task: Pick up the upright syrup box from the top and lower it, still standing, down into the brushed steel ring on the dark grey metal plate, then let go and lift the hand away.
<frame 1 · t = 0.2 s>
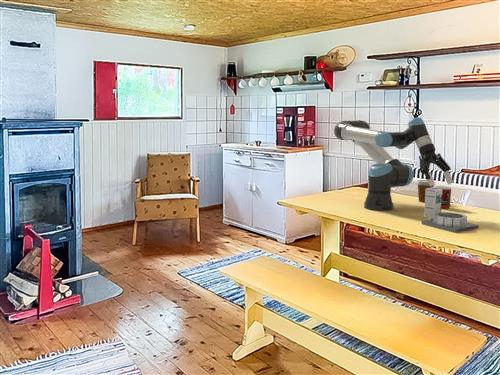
hand: (441, 184, 234), 16 cm above the table, tool tilted 30°, fingers open, 13 cm apart
syrup box: (432, 217, 234), on the table
canned food: (441, 207, 257), on the table
disposable coffee cup: (424, 201, 273), on the table
ring plate: (449, 226, 216), on the table
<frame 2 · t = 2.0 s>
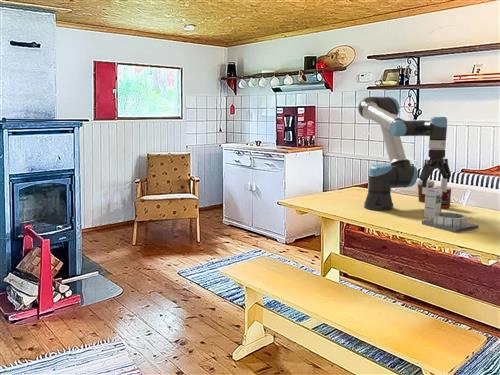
hand: (434, 192, 231), 12 cm above the table, tool pointing down, fingers open, 13 cm apart
nothing on the table moved.
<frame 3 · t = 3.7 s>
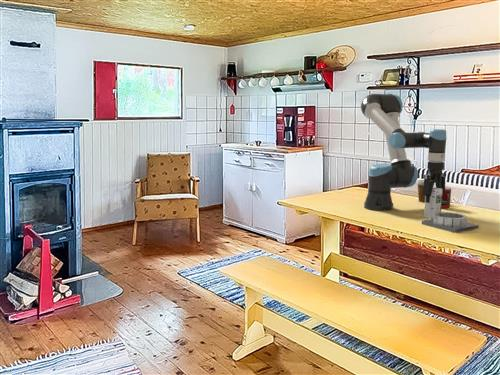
hand: (432, 208, 233), 4 cm above the table, tool pointing down, fingers closed on syrup box, 6 cm apart
syrup box: (432, 217, 234), on the table, touching gripper
everything else where it was.
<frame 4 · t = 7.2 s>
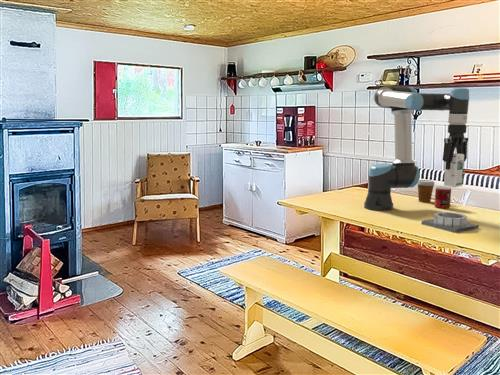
hand: (453, 176, 212), 23 cm above the table, tool pointing down, fingers closed on syrup box, 6 cm apart
syrup box: (452, 186, 213), point 18 cm above the table, touching gripper
everything else where it was.
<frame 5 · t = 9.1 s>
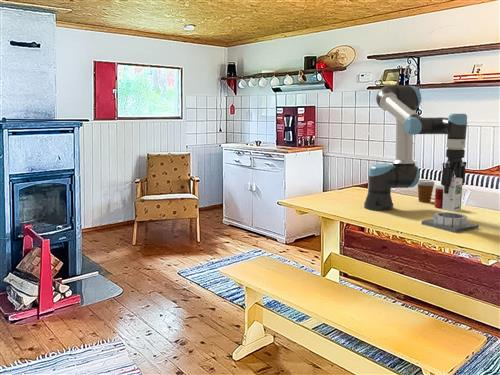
hand: (451, 199, 214), 12 cm above the table, tool pointing down, fingers closed on syrup box, 6 cm apart
syrup box: (451, 209, 215), point 8 cm above the table, touching gripper
everything else where it was.
when the fingers open (7 cm above the table, at t = 10.9 s): syrup box drops 1 cm, resting on ring plate.
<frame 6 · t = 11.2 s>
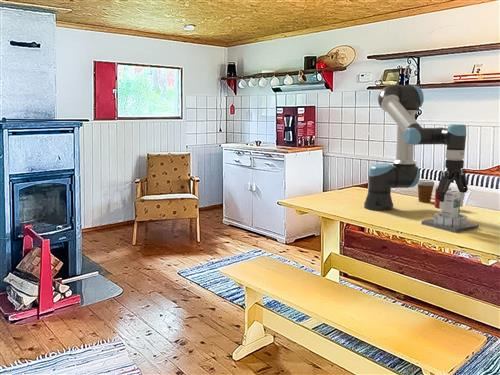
hand: (451, 207, 215), 9 cm above the table, tool pointing down, fingers open, 11 cm apart
syrup box: (449, 223, 216), point 1 cm above the table, touching ring plate
everything else where it was.
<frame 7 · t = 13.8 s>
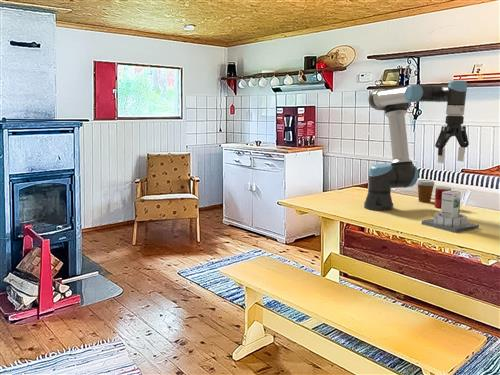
hand: (450, 162, 219), 28 cm above the table, tool pointing down, fingers open, 13 cm apart
nothing on the table moved.
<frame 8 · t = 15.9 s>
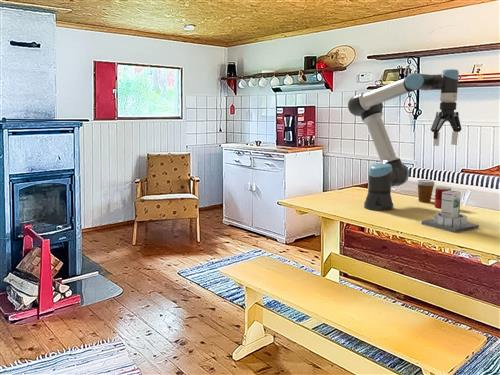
hand: (445, 145, 237), 35 cm above the table, tool pointing down, fingers open, 13 cm apart
nothing on the table moved.
at the end: syrup box 0.3 cm from the ring plate (horizontally); syrup box point 1.3 cm above the table; syrup box tilted 0° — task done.
